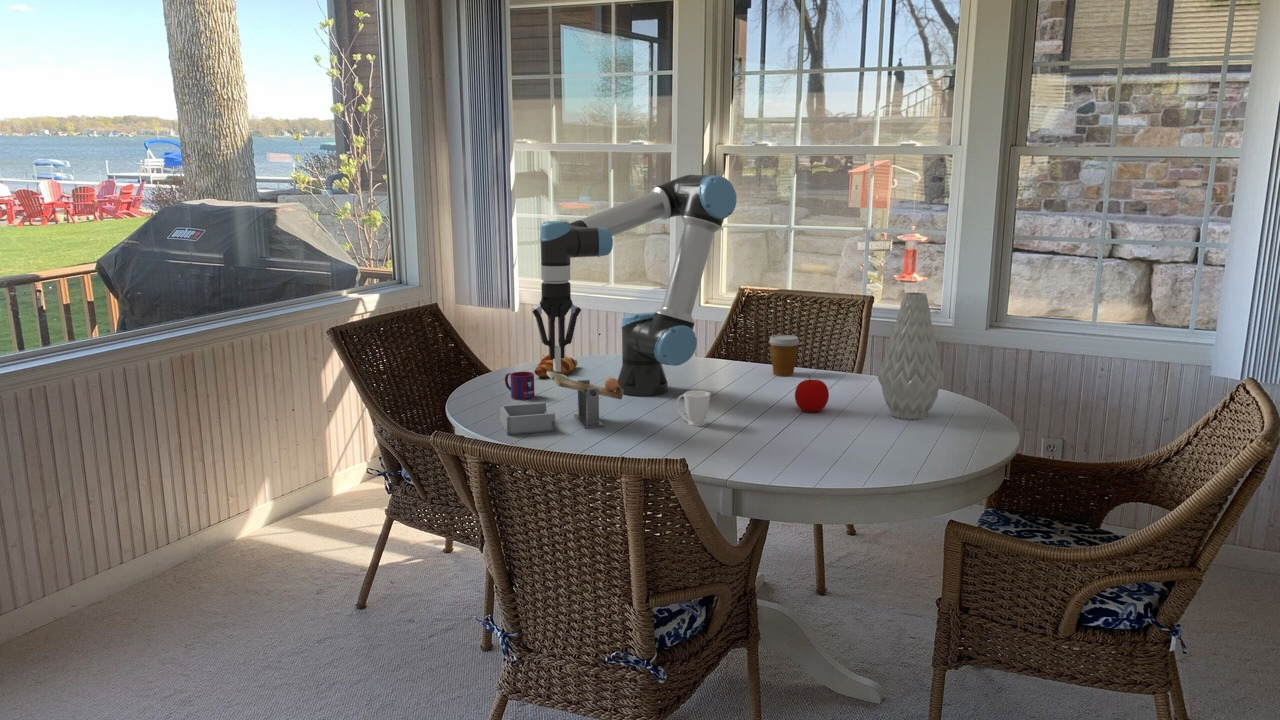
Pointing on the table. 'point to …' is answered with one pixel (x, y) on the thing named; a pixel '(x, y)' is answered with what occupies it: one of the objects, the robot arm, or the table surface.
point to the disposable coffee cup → (783, 354)
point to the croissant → (547, 365)
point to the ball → (611, 384)
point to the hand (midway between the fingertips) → (557, 370)
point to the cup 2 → (695, 406)
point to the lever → (583, 385)
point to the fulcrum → (588, 407)
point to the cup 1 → (521, 385)
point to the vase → (911, 361)
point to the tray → (526, 418)
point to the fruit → (811, 395)
